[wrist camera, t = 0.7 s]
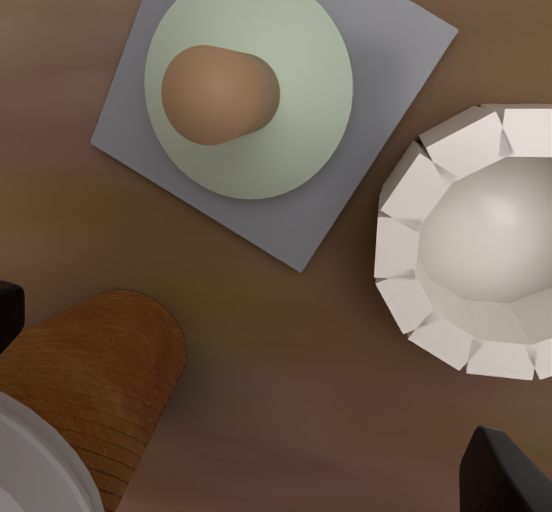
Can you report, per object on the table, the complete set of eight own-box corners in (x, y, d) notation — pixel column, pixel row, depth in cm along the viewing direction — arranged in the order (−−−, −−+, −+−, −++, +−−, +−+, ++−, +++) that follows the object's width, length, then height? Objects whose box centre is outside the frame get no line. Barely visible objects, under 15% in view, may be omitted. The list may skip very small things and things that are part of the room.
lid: (396, 48, 17) (400, 35, 12) (289, 227, 20) (258, 272, 15) (208, -66, 17) (138, -124, 12) (130, 130, 20) (51, 145, 15)
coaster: (455, 32, 17) (458, 29, 16) (304, 266, 21) (300, 273, 21) (198, -124, 17) (190, -134, 16) (100, 141, 22) (90, 143, 21)
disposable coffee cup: (232, 416, 25) (113, 672, 14) (81, 416, 28) (-119, 633, 17) (194, 250, 22) (7, 410, 11) (29, 266, 25) (-254, 410, 14)
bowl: (685, 187, 17) (768, 215, 13) (514, 362, 21) (541, 421, 17) (469, 56, 17) (492, 47, 14) (337, 253, 21) (326, 288, 17)
